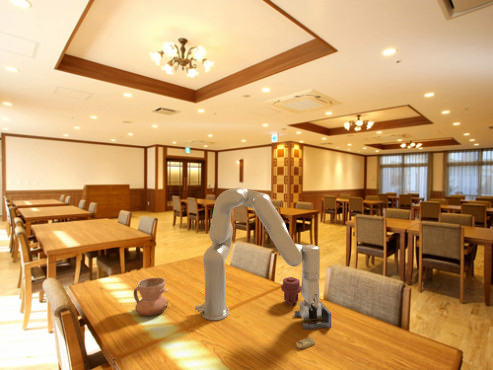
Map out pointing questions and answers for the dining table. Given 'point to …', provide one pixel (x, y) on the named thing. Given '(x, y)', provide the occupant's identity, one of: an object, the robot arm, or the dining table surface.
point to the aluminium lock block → (305, 310)
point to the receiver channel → (315, 325)
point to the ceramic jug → (151, 296)
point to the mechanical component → (291, 289)
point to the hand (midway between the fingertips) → (310, 315)
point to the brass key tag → (305, 343)
